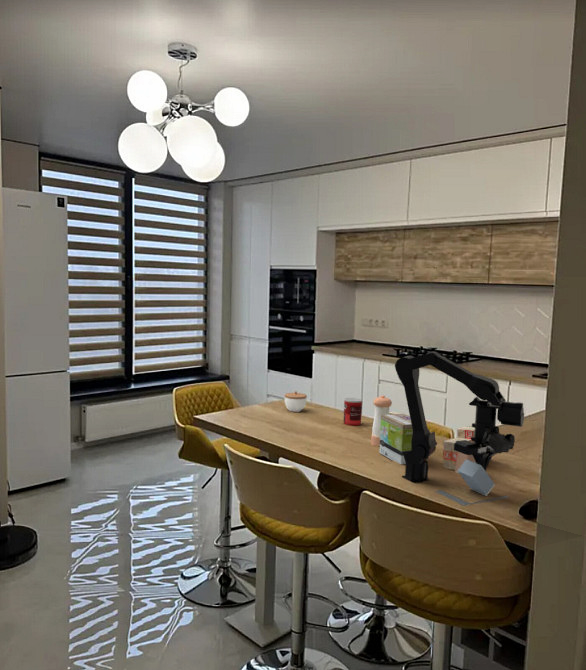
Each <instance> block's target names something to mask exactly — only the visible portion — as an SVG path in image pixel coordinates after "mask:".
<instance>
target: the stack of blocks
mask: <svg viewBox="0 0 586 670" xmlns="http://www.w3.org/2000/svg"><path fill="white" fill-rule="evenodd" d="M456 433H457V435H456V437H455V438H449V439H447V440H444V441H442V442H443V444H442V447H443V449H442V450H443V451H442V456H443V457H442V458H443V468H445V469H448V470H452V471H455V469H456V462H457V455H458V451H455V450H454V443H455V442H456V441H461V440H467V441H470V442H472V443H474V441H472V440H471V437H474V434H475V428H474V427H472V424H471V425H467V426H463V427H459V428H457V429H456Z"/></svg>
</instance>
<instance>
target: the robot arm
mask: <svg viewBox="0 0 586 670" xmlns="http://www.w3.org/2000/svg"><path fill="white" fill-rule="evenodd" d="M428 366H431V367H433V368H435V369H436V370H438V371H441V372H442V373H444V374H445V375H447V376H449V377H451V378H452V379H453V380H456V381H457V382H459V383H461V384H463V385H464V386H465V387H466V388H467V389H468V390H469V391H470V392H471V393H472V394H473V395H475V396H476V397H474V398H473V400H472V401H470V402H469V403H468V405H469V406H473V407H475V418H474V419H475V420H474V422H473V423H471V425H472V427H474V428H475V434H474V437H471V440H472V441H474V443H472V442H470V441H467V440H461V441H456V442H455V443H454V450H455V451H458V452H460V453H463V454H466V455H473V457H474V459H475V462H476V463H477V464H479V465H481V466H482V467H483V468H484V470H485V471H486V472H487V468H488V466H489V463H490V462H491V461H492V458H493V457H494V456H495V455H497V454H503V453H509V450H513V449H514V447H515V440H516V439H515V438H516V437H515V435H513V433H506V434H502V433H500V428H499V426H498V425H496V423H497V422H496V421H498V422H499V423H500V425H506V426H513V427H518V428H519V427H520V428H522V427H523V425H524V421H525V411H524V403H523V402H510V401H506V399H505V397H504V395H503V394H502V393H501V391H500V385H499V383H498V382H497V381H496V380H495V379H493V378H490V377H487V376H485V375H481V374H477V373H474V372H471V370H468V369H466V368H465V367H462V366H461V365H460V364H457V363H456V362H454V361H452V360H450V359H449V358H446V357H444V356H443V355H441V354H440V353H438V352H437V351H429V352H427V353H425V354H421V355H419V356H418V355H417V356H413V355H407V356H402V357H400V358H397V360H396V362H395V363H394V369H395V371H396V375H397V378H398V380H399V381H400V382H401V384H402V385H403V388H404V393H405V394H404V395H405V398H406V404H407V407H408V408H407V410H408V413H409V416H410V419H411V424H412V429H413V433H412V440H411V447H412V450H411V451H410V452H408V453H407V454H406V455H404V459H405V462H406V464H405V469H404V475H401V478H403V479H404V480H406V481H409V482H411V483H413V484H420V483H424V482H429V481H431V479H430V478H428V474H429V465H428V459H429V457H430V456H432V455H433V454H434V453H435V451H436V448H437V445H438V441H437V440H436V432H435V431H432V432H431V431H430V430H429V428H428V426H427V425H428V424H427V425H426V423H427V420H426V417H425V411H424V406H423V401H422V396H421V390H420V388H419V387H420V386H419V380H420V369H421V368H424V367H428Z"/></svg>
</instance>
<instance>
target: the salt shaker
mask: <svg viewBox="0 0 586 670" xmlns="http://www.w3.org/2000/svg"><path fill="white" fill-rule="evenodd" d="M392 402H393V401H392V399H390V398H389V397H385V395H381V396H379V397H376V398H374V400H373V405H374V418H373V424H372V431H371V432H372V434H371V436H370V444H371V445H372V446H373V447H378V446H380V429H381V415H390V407H391V406H392Z"/></svg>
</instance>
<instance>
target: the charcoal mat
mask: <svg viewBox="0 0 586 670" xmlns="http://www.w3.org/2000/svg"><path fill="white" fill-rule="evenodd" d="M434 492H435V493H437V494H439V495H441V496H444V497H445V498H446V499H447V498H448V499H450V500H451V501H453V502H455V503H457V504H459V505H461V506H463V507H465V506H470V505H475V504H480V503H481V504H482V503H485V502H492V501H496V500H501V499H507V498H510V496H509V495H502V496H497V497H495V498H494V497H493V498H490V499H489V498H488V499H484V500H479V501H475V502H468V501H466V500H464V499H463V498H462V499H461V498H459V497H457V496H455V495H453V494H451V493H449V492H446V491H444V490H442V489H440V490H439V489H438V490H435V491H434Z"/></svg>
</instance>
